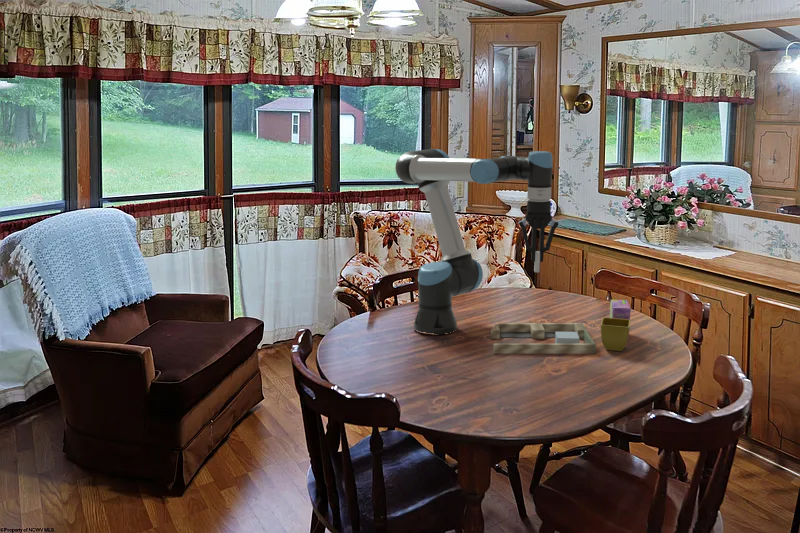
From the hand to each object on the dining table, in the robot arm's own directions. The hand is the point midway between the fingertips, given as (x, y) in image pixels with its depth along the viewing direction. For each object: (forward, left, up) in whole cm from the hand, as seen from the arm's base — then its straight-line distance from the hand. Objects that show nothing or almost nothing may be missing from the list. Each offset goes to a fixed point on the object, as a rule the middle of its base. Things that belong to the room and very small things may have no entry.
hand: (536, 271), depth 243 cm
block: (+11, +1, -24) cm, 26 cm away
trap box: (+2, -1, -24) cm, 24 cm away
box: (+22, +18, -24) cm, 37 cm away
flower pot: (+25, +6, -24) cm, 35 cm away
